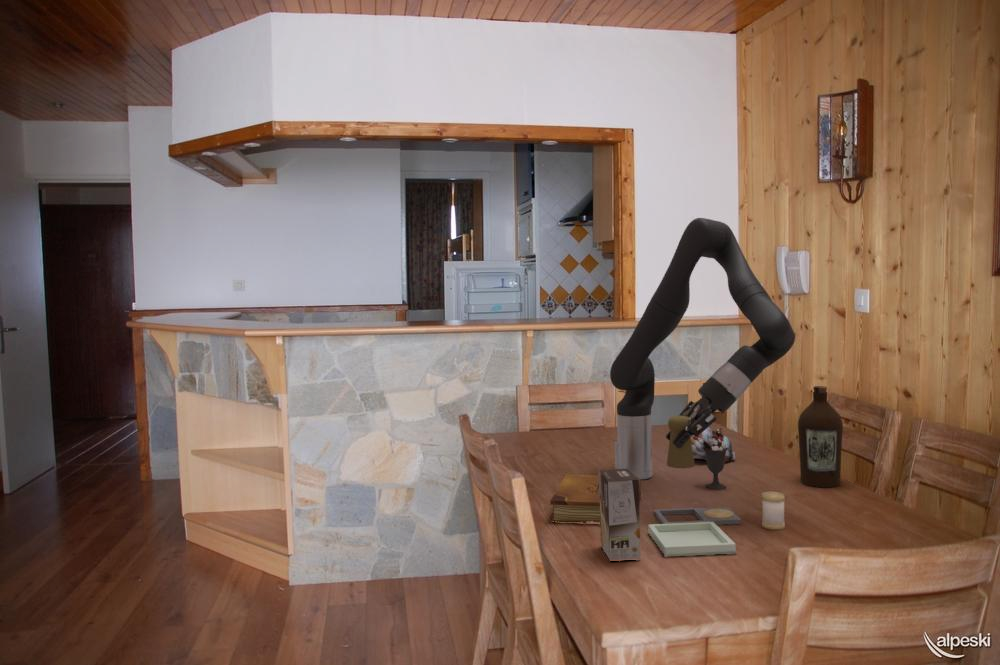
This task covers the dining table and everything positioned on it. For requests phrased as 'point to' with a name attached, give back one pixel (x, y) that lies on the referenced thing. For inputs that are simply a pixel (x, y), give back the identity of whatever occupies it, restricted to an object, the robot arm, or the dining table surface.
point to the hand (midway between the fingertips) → (672, 442)
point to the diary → (578, 499)
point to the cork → (684, 454)
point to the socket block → (701, 515)
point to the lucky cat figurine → (705, 436)
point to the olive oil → (820, 442)
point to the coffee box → (619, 514)
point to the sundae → (715, 458)
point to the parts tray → (691, 539)
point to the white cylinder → (773, 510)
